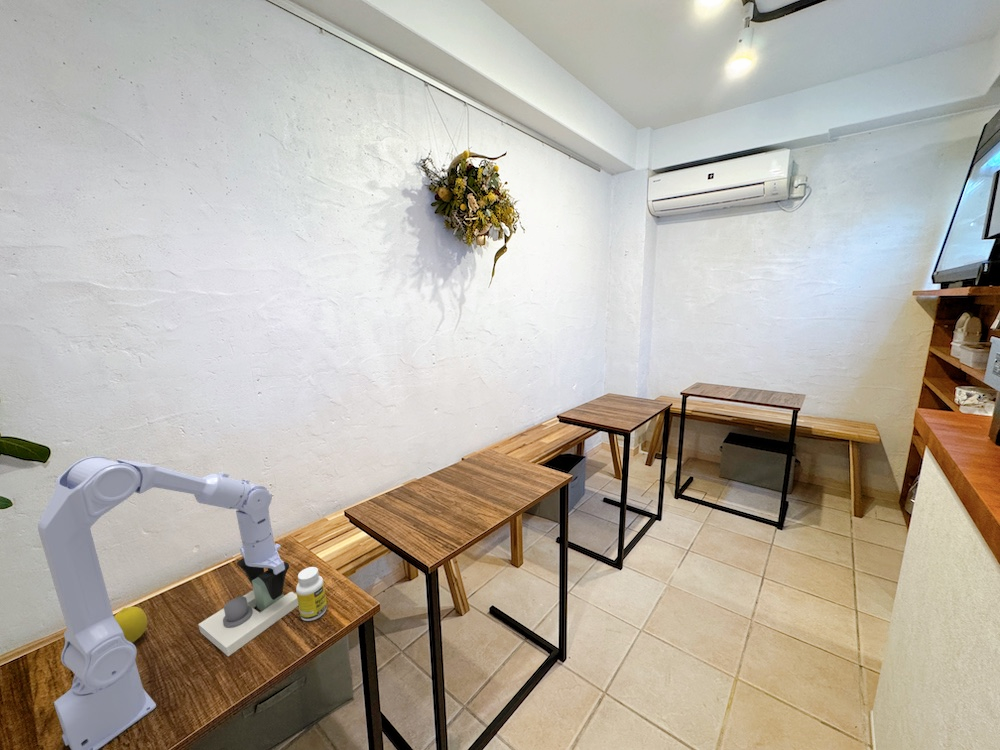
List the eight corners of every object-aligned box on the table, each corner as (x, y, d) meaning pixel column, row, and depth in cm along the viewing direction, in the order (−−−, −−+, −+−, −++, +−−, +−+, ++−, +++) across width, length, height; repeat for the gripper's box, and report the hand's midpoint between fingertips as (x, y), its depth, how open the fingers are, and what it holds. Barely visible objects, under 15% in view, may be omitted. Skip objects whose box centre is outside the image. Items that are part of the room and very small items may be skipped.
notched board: (228, 656, 76) (222, 632, 75) (200, 632, 82) (194, 609, 81) (300, 603, 88) (297, 582, 87) (271, 586, 95) (267, 566, 93)
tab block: (266, 614, 86) (261, 586, 84) (257, 608, 88) (251, 580, 87) (284, 602, 89) (279, 575, 88) (274, 596, 91) (269, 569, 90)
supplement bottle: (320, 621, 83) (313, 581, 81) (295, 622, 83) (288, 582, 81) (331, 602, 88) (325, 563, 86) (308, 603, 88) (301, 564, 87)
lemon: (146, 626, 84) (138, 594, 83) (154, 638, 81) (145, 605, 80) (111, 645, 80) (101, 612, 78) (118, 658, 77) (108, 624, 75)
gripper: (294, 535, 85) (303, 589, 87) (258, 519, 92) (268, 569, 95) (260, 553, 79) (271, 611, 81) (225, 534, 86) (236, 588, 89)
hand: (267, 590), depth 88 cm, fingers open, 7 cm apart
